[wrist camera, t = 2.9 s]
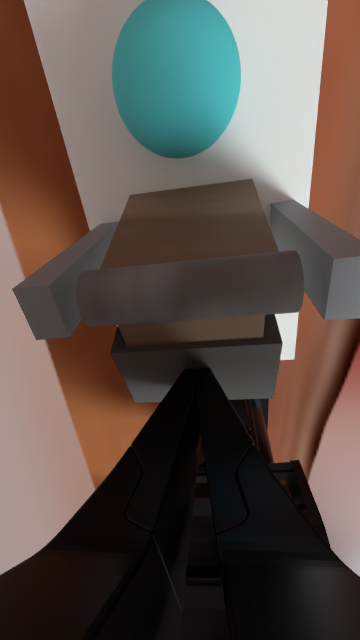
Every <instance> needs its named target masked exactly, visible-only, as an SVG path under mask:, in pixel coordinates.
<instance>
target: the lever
mask: <svg viewBox="0 0 360 640" xmlns="http://www.w3.org/2000/svg"><path fill="white" fill-rule="evenodd" d="M303 296H304V275H303V268H302V263H301V259H300V256H299V254H298V252H297V251H296V250H291V251H280V252H279V250H278V247H277V245H276V242H275V239H274V237H273V234H272V231H271V228H270V226H269V223H268V220H267V218H266V215H265V212H264V209H263V207H262V204H261V201H260V199H259V196H258V193H257V190H256V188H255V185H254V182H253V180H252V179H246V180H238V181H231V182H223V183H216V184H208V185H201V186H193V187H186V188H178V189H171V190H163V191H156V192H148V193H141V194H133V195H130V196H129V199H128V201H127V203H126V206H125V208H124V211H123V213H122V216H121V218H120V221H119V223H118V225H117V228H116V230H115V233H114V235H113V238H112V240H111V243H110V245H109V248H108V250H107V252H106V255H105V257H104V260H103V262H102V265H101V267H100V269H99V270H89V271H83V272H82V273H81V274H80V275H79V277H78V280H77V284H76V303H77V308H78V311H79V314H80V317H81V319H82V320H83V322H84V323H85V324H86V325H87V326H88V327H102V326H116V325H118V327H117V330H116V334H115V338H114V342H113V345H112V349H111V353H110V354H111V356H112V358H113V360H114V362H115V364H116V366H117V368H118V369H119V371H120V373H121V375H122V377H123V379H124V381H125V383H126V385H127V387H128V389H129V391H130V393H131V395H132V397H133V399H134V401H135V403H148V402H161V401H162V400H163V398H164V397H165V395H166V394H167V393H168V391H169V390H170V388H171V387H172V385H173V384H174V383H175V381H176V380H177V378H178V377H179V375H180V374H181V373H182V371H183V370H184V369H199V368H210V369H211V370H212V372H213V373H214V375H215V377H216V378H217V380H218V382H219V384H220V385H221V387H222V389H223V390H224V392H225V394H226V396H227V397H228V399H229V400H237V399H267V398H274V392H275V386H276V380H277V374H278V369H279V363H280V357H281V351H282V345H283V343H282V339H281V335H280V332H279V328H278V324H277V321H276V317H275V314H284V313H297V312H299V311H300V309H301V306H302V302H303Z"/></svg>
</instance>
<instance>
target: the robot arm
mask: <svg viewBox="0 0 360 640" xmlns="http://www.w3.org/2000/svg"><path fill="white" fill-rule="evenodd" d="M268 401H269V398H267V399H237V400H229V399H228V397H227V396H226V394H225V392H224V390H223V389H222V387H221V385H220V384H219V382H218V380H217V378H216V377H215V375H214V373H213V372H212V370H211V369H210V368H199V369H184V370H183V371H182V373H181V374H180V375H179V377H178V378H177V380H176V381H175V383H174V384H173V385H172V387H171V388H170V390H169V391H168V393H167V394H166V395H165V397H164V398H163V400H162V401H161V403H160V404H159V405H158V407H157V408H156V410H155V411H154V412H153V414H152V415H151V417H150V418H149V420H148V421H147V422H146V424H145V425H144V427H143V428H142V430H141V431H140V432H139V434H138V435H137V437H136V438H135V439H134V441H133V442H132V444H131V446H130V447H129V448H128V449H127V451H126V452H125V454H124V455H123V456H122V458H121V459H120V460H119V462H118V463H117V464H116V466H115V467H114V468H113V470H112V471H111V472H110V474H109V475H108V476H107V477H106V478H105V480H104V481H103V482H102V483H101V484H100V486H99V487H98V488H97V489H96V490H95V492H94V493H93V494H92V495H91V496H90V497H89V499H88V500H87V501H86V502H85V503H84V504H83V505H82V507H81V508H80V509H79V510H78V511H77V512H76V513H75V515H74V516H73V517H72V518H71V519H70V520H69V522H68V523H67V524H66V525H65V526H64V527H63V529H62V530H61V531H60V532H59V533H58V534H57V535H56V536H55V537H54V538H53V539H52V540H51V541H50V542H49V543H48V544H47V545H46V546H45V547H44V548H42V549H41V550H40V551H39V552H37V553H36V554H34V555H33V556H32V557H30V558H28V559H27V560H25V561H23V562H22V563H20V564H18V565H17V566H15V567H13V568H12V569H10V570H8V571H6V572H5V573H3V574H1V575H0V640H360V577H359V576H358V575H357V574H355V573H354V572H353V571H352V570H351V569H350V568H349V567H348V566H346V565H345V564H344V563H343V562H342V561H341V560H340V559H339V558H338V556H337V555H336V554H335V553H334V552H333V551H332V550H331V548H330V544H329V540H328V537H327V533H326V530H325V527H324V524H323V521H322V518H321V515H320V513H319V510H318V508H317V505H316V503H315V501H314V498H313V495H312V493H311V490H310V487H309V485H308V482H307V479H306V477H305V474H304V472H303V469H302V467H301V464H300V462H299V460H293V461H290V462H284V463H274V461H273V456H272V452H271V447H270V442H269V438H268V433H267V426H268Z"/></svg>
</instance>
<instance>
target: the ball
mask: <svg viewBox="0 0 360 640" xmlns="http://www.w3.org/2000/svg"><path fill="white" fill-rule="evenodd" d="M112 85H113V93H114V98H115V102H116V105H117V108H118V111H119V114H120V116H121V118H122V120H123V122H124V124H125V126H126V127H127V129H128V130H129V132H130V133H131V134H132V136H133V137H134V138H135V139H136V140H137V141H138V142H139V143H140V144H141V145H142V146H144V147H145V148H146V149H148V150H149V151H151V152H153V153H155V154H157V155H160V156H163V157H166V158H175V159H180V158H187V157H191V156H194V155H197V154H199V153H201V152H203V151H205V150H206V149H208V148H209V147H210V146H211V145H213V144H214V143H215V142H216V141H217V140H218V139H219V137H220V136H221V135H222V134H223V133H224V131H225V130H226V128H227V126H228V125H229V123H230V121H231V119H232V117H233V114H234V112H235V109H236V106H237V103H238V98H239V93H240V86H241V64H240V57H239V51H238V47H237V44H236V41H235V38H234V36H233V33H232V31H231V28H230V27H229V25H228V23H227V21H226V20H225V18H224V17H223V16H222V14H221V13H220V12H219V11H218V9H217V8H216V7H214V6H213V5H212V4H211V3H210V2H209V1H207V0H145V1H143V2H142V3H141V4H139V6H138V7H137V8H136V9H135V10H134V11H133V12H132V13H131V14H130V16H129V17H128V19H127V20H126V22H125V23H124V25H123V27H122V29H121V31H120V34H119V36H118V39H117V42H116V45H115V50H114V54H113V62H112Z"/></svg>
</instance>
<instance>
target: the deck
mask: <svg viewBox="0 0 360 640" xmlns="http://www.w3.org/2000/svg"><path fill="white" fill-rule="evenodd" d="M143 1H145V0H24V3H25V6H26V10H27V13H28V17H29V20H30V24H31V27H32V31H33V34H34V38H35V41H36V45H37V48H38V52H39V55H40V59H41V62H42V66H43V69H44V73H45V76H46V80H47V83H48V87H49V90H50V94H51V97H52V101H53V104H54V108H55V111H56V115H57V118H58V122H59V125H60V128H61V132H62V135H63V139H64V142H65V146H66V149H67V153H68V156H69V160H70V163H71V167H72V170H73V174H74V177H75V181H76V184H77V188H78V191H79V195H80V198H81V202H82V205H83V209H84V212H85V216H86V219H87V223H88V226H89V230H90V232H89V233H87V234H86V235H85V236H83V237H82V238H81V239H79V240H78V241H76V242H75V243H74V244H72V245H71V246H70V247H68V248H67V249H66V250H64V251H63V252H62V253H60V254H59V255H58V256H56V257H55V258H53V259H52V260H51V261H49V262H48V263H47V264H45V265H44V266H43V267H41V268H40V269H39V270H37V271H36V272H35V273H33V274H32V275H31V276H29V277H28V278H26V279H25V280H24V281H22V282H21V283H20V284H18V285H17V286H16V287H14V288H13V291H14V293H15V296H16V298H17V300H18V302H19V304H20V306H21V308H22V311H23V313H24V315H25V317H26V319H27V321H28V323H29V325H30V328H31V330H32V332H33V334H34V336H35V338H36V340H40V339H56V338H69V337H70V336H71V334H72V333H73V331H74V330H75V329H76V327H77V326H78V324H79V323H80V322H81V320H82V319H81V317H80V314H79V311H78V308H77V303H76V284H77V280H78V277H79V275H80V274H81V273H82V272H83V271H89V270H99V269H100V267H101V265H102V262H103V260H104V257H105V255H106V252H107V250H108V248H109V245H110V243H111V240H112V238H113V235H114V233H115V230H116V228H117V225H118V223H119V221H120V218H121V216H122V213H123V211H124V208H125V206H126V203H127V201H128V199H129V196H130V195H133V194H141V193H148V192H156V191H163V190H171V189H178V188H186V187H193V186H201V185H208V184H216V183H223V182H231V181H238V180H246V179H252V180H253V182H254V185H255V188H256V190H257V193H258V196H259V199H260V201H261V204H262V207H263V209H264V212H265V215H266V218H267V220H268V223H269V226H270V228H271V231H272V234H273V237H274V239H275V242H276V245H277V247H278V250H279V252H280V251H291V250H296V251H297V252H298V254H299V256H300V259H301V263H302V268H303V275H304V291H305V292H306V294H307V295H308V297H309V298H310V300H311V301H312V303H313V304H314V306H315V307H316V309H317V310H318V312H319V313H320V314H321V316H322V317H323V319H324V320H339V319H354V318H360V240H359V239H357V238H355V237H354V236H352V235H350V234H349V233H347V232H346V231H344V230H342V229H341V228H339V227H337V226H336V225H334V224H333V223H331V222H329V221H328V220H326V219H324V218H323V217H321V216H319V215H318V214H316V213H315V212H313V211H311V210H310V209H308V207H309V196H310V185H311V175H312V164H313V153H314V143H315V132H316V122H317V111H318V100H319V90H320V79H321V68H322V58H323V47H324V37H325V26H326V15H327V5H328V0H207V1H209V2H210V3H211V4H212V5H213V6H214V7H216V8H217V9H218V11H219V12H220V13H221V14H222V16H223V17H224V18H225V20H226V21H227V23H228V25H229V27H230V28H231V31H232V33H233V36H234V38H235V41H236V44H237V47H238V51H239V57H240V64H241V86H240V93H239V98H238V103H237V106H236V109H235V112H234V114H233V117H232V119H231V121H230V123H229V125H228V126H227V128H226V130H225V131H224V133H223V134H222V135H221V136H220V137H219V139H218V140H217V141H216V142H215V143H214V144H213V145H211V146H210V147H209V148H208V149H206V150H205V151H203V152H201V153H199V154H197V155H194V156H191V157H187V158H180V159H175V158H166V157H163V156H160V155H157V154H155V153H153V152H151V151H149V150H148V149H146V148H145V147H144V146H142V145H141V144H140V143H139V142H138V141H137V140H136V139H135V138H134V137H133V136H132V134H131V133H130V132H129V130H128V129H127V127H126V126H125V124H124V122H123V120H122V118H121V116H120V114H119V111H118V108H117V105H116V102H115V98H114V93H113V85H112V62H113V54H114V50H115V45H116V42H117V39H118V36H119V34H120V31H121V29H122V27H123V25H124V23H125V22H126V20H127V19H128V17H129V16H130V14H131V13H132V12H133V11H134V10H135V9H136V8H137V7H138V6H139V4H141V3H142V2H143ZM298 313H299V312H297V313H284V314H275V317H276V321H277V324H278V328H279V332H280V335H281V339H282V343H283V345H282V351H281V357H280V360H291V359H294V355H295V345H296V334H297V324H298ZM117 327H118V325H117Z"/></svg>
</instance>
